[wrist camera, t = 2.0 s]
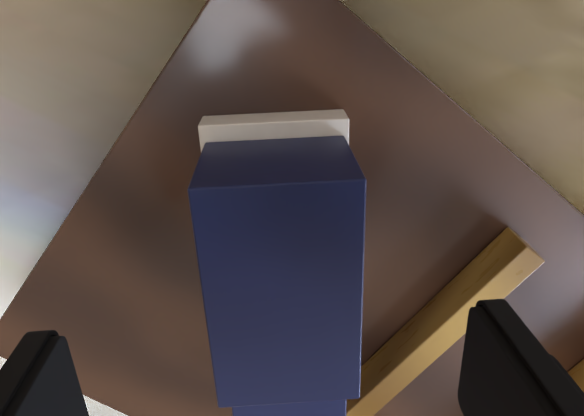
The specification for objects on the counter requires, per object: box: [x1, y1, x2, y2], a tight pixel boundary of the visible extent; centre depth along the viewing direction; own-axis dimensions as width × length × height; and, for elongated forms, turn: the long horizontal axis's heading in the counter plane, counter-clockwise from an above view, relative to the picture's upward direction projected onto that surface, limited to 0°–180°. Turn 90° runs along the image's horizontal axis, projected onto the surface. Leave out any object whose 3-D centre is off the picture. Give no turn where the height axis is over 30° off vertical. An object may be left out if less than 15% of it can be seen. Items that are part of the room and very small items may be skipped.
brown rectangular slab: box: [0, 0, 584, 416], centre depth 21 cm, size 18×24×6 cm
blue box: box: [187, 109, 367, 416], centre depth 15 cm, size 11×4×5 cm, turn 2°
